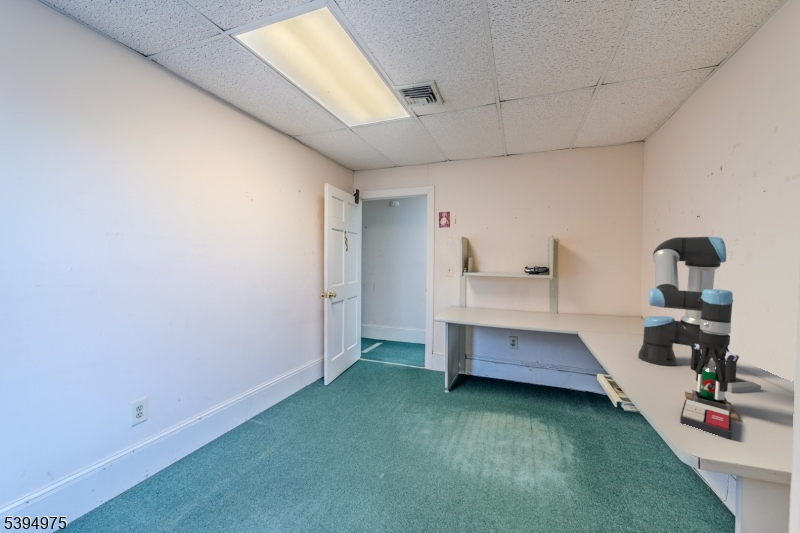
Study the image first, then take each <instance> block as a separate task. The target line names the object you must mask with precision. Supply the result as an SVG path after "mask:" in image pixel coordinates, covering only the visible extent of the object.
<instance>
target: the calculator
mask: <svg viewBox="0 0 800 533" xmlns="http://www.w3.org/2000/svg"><path fill="white" fill-rule="evenodd" d="M682 406H683V407H682V410H681V413H680V417H679V418H680V420H679V424H680V423H682V424H681V425H683V424H686V425H689V426H692V427H695V428H698V429H701V430H703V431H702V432H704V431H706V432H705V433H707V432H709V434H710V433H712V434H711V435H713V434H715V435H714V436H716V435H718V436H717V437H721V438H722V439H726V440H729V441H730V440H731V438H732V420H731V412H729V411H727V410H723V409H720V408H716V407H713V406H709V405H705V404H702V403H698V402H694V401H691V400H686V399H685V400H684V402H683V405H682ZM686 425H685V426H686ZM689 426H688V427H689ZM692 427H691V428H692ZM695 428H694V429H695ZM698 429H697V430H698ZM701 430H700V431H701Z"/></svg>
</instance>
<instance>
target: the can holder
mask: <svg viewBox="0 0 800 533" xmlns="http://www.w3.org/2000/svg"><path fill="white" fill-rule="evenodd" d="M684 396H685V400H691V401H694V402H698V403H702V404H705V405H709V406H713V407H716V408H720V409H723V410H727V411H729V412H731V421H733V422H737V423H740V417H739V416H738V414H737V412H736V410H735V408H734V407H733V404H732V403H731V402H730V401H728V400H727V397H726V396H725V397H724V400H720V402H718V403H717V402H712V401H708V400H704V399H702V398H701V397H700V392H698V391H697V390H694V389H692V390H691V392H687V391H685V392H684Z"/></svg>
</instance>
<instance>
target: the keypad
mask: <svg viewBox="0 0 800 533" xmlns="http://www.w3.org/2000/svg"><path fill="white" fill-rule="evenodd" d="M761 389H762V385H760V384H758V383H756V382H754V381H751V380H747V379H745V378H741V377H739V376H736V382H735V383H728V388H727V392H726V393H730V394H734V393H736V394H737V393H748V392H750V393H751V392H761V391H762V390H761Z"/></svg>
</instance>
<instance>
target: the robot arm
mask: <svg viewBox="0 0 800 533" xmlns="http://www.w3.org/2000/svg"><path fill="white" fill-rule="evenodd" d="M652 261H653V262H654V263H655V265H654V268H655V271H654V288H650V289H649V292H648V304H649V305H650V307H657V308H665V309H673V310H675V309H676V310H677V309H678V310H685V314H684V315H683V316H681V317H680V320H676V319H675V317H673V316H667V315H666V316H665V315H663V316H661V315H657V316H656V315H651V316H648V317H646V318H644V321H643V322H644V323H643V327H644V329H643V340H642V341H643V342H642V345H641V347H640V349H639V351H638V354H637V357H638V359H639V360H641V361H643V362H647V363H649V364H655V365H659V366H666V367H667V366H669V367H672V366H676V365H677V361H678V360H677V357H676V355H675V351H674V349H673V348H674V347H673V346H674V344H676V345H681V346H688V347H690V348H691V349H690V350H691V356H690V357H691V358H690V370H692V371H694V372H695V373H696V377H695V380H696V382H697V389H696V391H698V392H700V390H701V375H702V368H703V367H704V366H709V363H710V361H711V359H712V360H713V362H714V364H715V367H716V369H717V374H718V378H719V380H717V381H716V389H715V399H716V400H724V397H725V398H726V396H725V395H726V393H728V392H727V388H728V383H735V382H736V377H737V363H738V360H739V358H740V356H739V355H738V354H733V353H732V352H730V349H729V346H730V344H731V342H730V341H731V335H730V334H731V332H732V331H731V329H732V311H733V303H734V298H733V295H734V294H733V291H731V290H726V289H719V288H718V289H717V288H714V283H715V273H716V270H717V269H718V268H721V263H722V264H723V263H726V262H727V248H726V243H725V241H724V239H723V238H722V237H719V236H690V237H688V236H687V237H686V236H685V237H683V236H680V237H673V238H669V239H667V240H664V241H663V242H661V243H659V245H657V247H656V248H655V249H654V250H653V252H652ZM678 262H684V265H685V267H687V268H688V276H687V277H688V279H687V290H680V288H679V287H680V286H679V274H678V273H679V271H678Z"/></svg>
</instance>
